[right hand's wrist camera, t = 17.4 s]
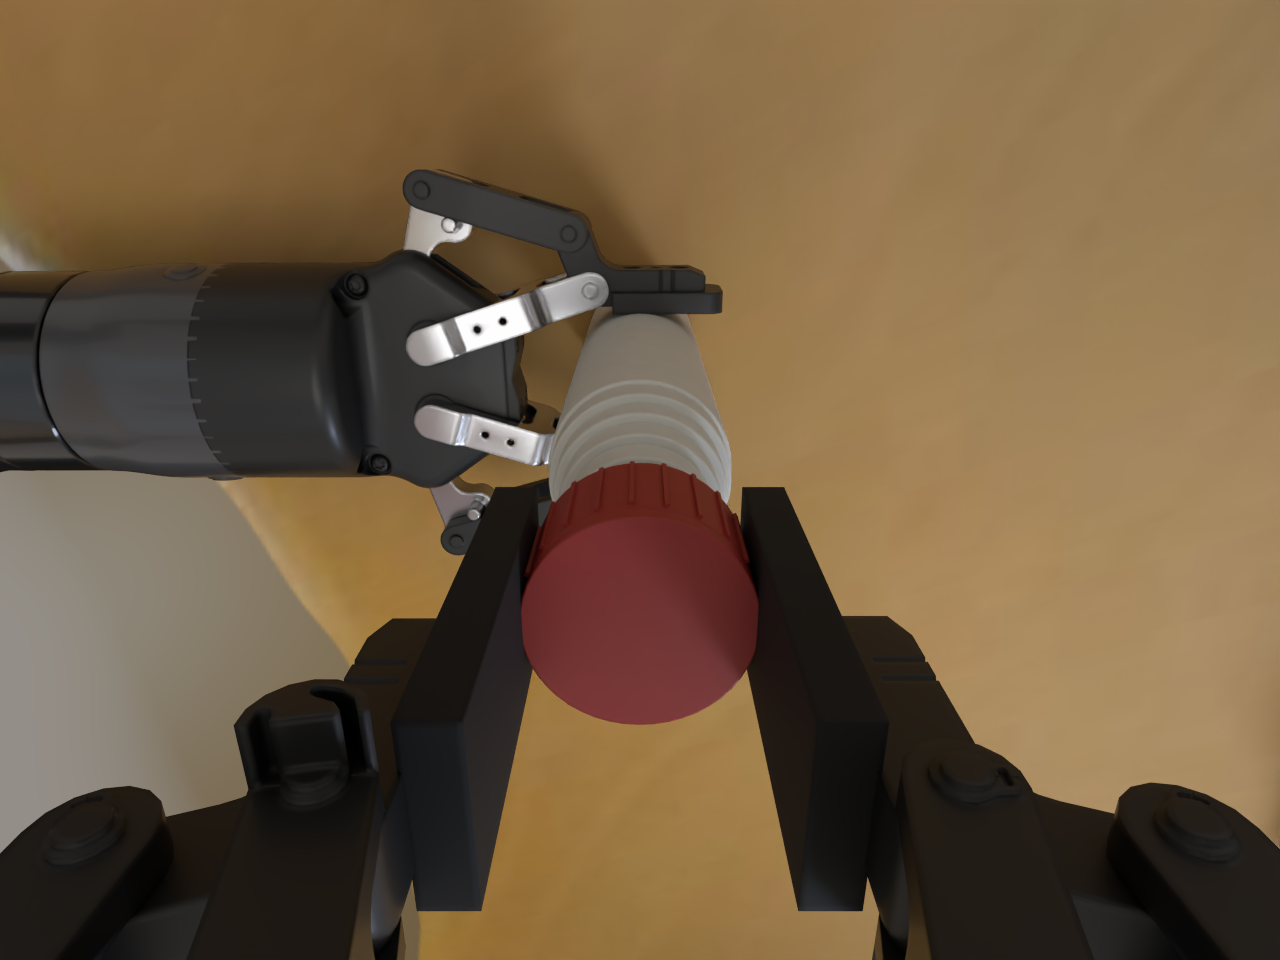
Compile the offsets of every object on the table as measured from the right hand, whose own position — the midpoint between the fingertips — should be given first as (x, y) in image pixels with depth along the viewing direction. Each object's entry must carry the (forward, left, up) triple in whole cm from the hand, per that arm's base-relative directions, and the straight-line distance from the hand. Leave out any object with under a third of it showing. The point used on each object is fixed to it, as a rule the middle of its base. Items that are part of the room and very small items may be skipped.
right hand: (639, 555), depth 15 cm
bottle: (0, 0, -21) cm, 21 cm away
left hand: (-2, +2, -14) cm, 15 cm away
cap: (0, 0, +2) cm, 2 cm away
